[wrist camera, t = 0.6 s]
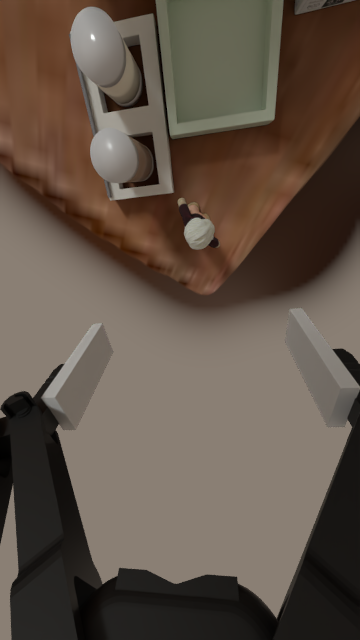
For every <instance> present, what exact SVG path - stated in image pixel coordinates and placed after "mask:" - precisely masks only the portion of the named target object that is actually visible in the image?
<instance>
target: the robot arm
mask: <svg viewBox="0 0 360 640" xmlns="http://www.w3.org/2000/svg"><path fill="white" fill-rule="evenodd" d="M285 343H286V345H287V347H288V349H289V351H290V353H291V355H292V357H293V359H294V361H295V363H296V365H297V367H298V369H299V371H300V373H301V375H302V377H303V379H304V381H305V383H306V385H307V387H308V389H309V391H310V393H311V395H312V397H313V399H314V401H315V403H316V405H317V407H318V409H319V411H320V413H321V415H322V417H323V419H324V421H325V423H326V425H327V427H345V424H346V422H347V420H348V421H349V422H350V424H351V426H352V430H351V432H350V434H349V437H348V439H347V442H346V445H345V447H344V450H343V452H342V455H341V458H340V460H339V463H338V465H337V468H336V470H335V473H334V475H333V478H332V481H331V483H330V486H329V488H328V491H327V493H326V496H325V499H324V501H323V504H322V506H321V508H320V511H319V514H318V516H317V519H316V521H315V524H314V526H313V529H312V531H311V534H310V537H309V539H308V542H307V544H306V547H305V549H304V552H303V554H302V557H301V560H300V562H299V564H298V567H297V570H296V572H295V575H294V577H293V579H292V582H291V584H290V587H289V589H288V591H287V594H286V596H285V599H284V602H283V604H282V607H281V609H280V612H279V614H278V617H277V619H276V617H275V616H274V614H273V613H272V612H271V610H270V609H269V608H268V607H267V606H266V604H265V603H264V602H263V601H262V600H261V599H260V598H259V597H258V596H257V595H255V594H254V593H253V592H251V591H250V590H249V589H247V588H246V587H244V586H242V585H240V584H238V582H237V577H231V576H218V575H217V576H216V575H204V576H201V577H198V578H194V579H191V580H188V581H185V582H182V583H179V584H173V583H171V582H169V581H167V580H165V579H163V578H161V577H159V576H157V575H155V574H153V573H151V572H149V571H147V570H139V569H126V568H119V572H118V576H116V577H115V578H112V579H110V580H108V581H107V582H105V583H104V584H102V581H101V578H100V576H99V573H98V571H97V569H96V568H95V565H94V564H93V561H92V558H91V555H90V551H89V547H88V543H87V539H86V536H85V532H84V529H83V525H82V521H81V518H80V514H79V510H78V506H77V502H76V499H75V495H74V492H73V488H72V484H71V480H70V477H69V473H68V469H67V466H66V462H65V458H64V455H63V451H62V447H61V444H60V440H59V437H58V433H57V431H56V428H57V426H58V424H59V425H60V426H61V427H62V429H63V430H76V428H77V426H78V424H79V422H80V420H81V418H82V416H83V414H84V412H85V410H86V407H87V405H88V403H89V401H90V399H91V397H92V395H93V393H94V391H95V389H96V387H97V385H98V382H99V380H100V378H101V376H102V374H103V372H104V370H105V368H106V366H107V364H108V362H109V360H110V358H111V356H112V354H113V350H112V347H111V345H110V342H109V339H108V337H107V334H106V331H105V329H104V326H103V324H93V325H92V326H91V327H90V329H89V330H88V332H87V333H86V335H85V336H84V338H83V339H82V340H81V342H80V343H79V344H78V346H77V347H76V349H75V350H74V352H73V353H72V355H71V356H70V357H69V359H68V360H67V362H66V363H65V364H61V365H59V366H58V367H57V368H56V369H55V370H53V372H52V373H51V375H50V376H49V378H48V379H47V380H46V381H45V383H44V384H43V385H42V387H41V388H40V389H39V391H38V392H37V394H36V395H35V396H34V398H32V397H31V395H30V394H29V393H28V392H25V391H24V392H19V393H16V394H14V395H12V396H10V397H9V398H8V399H7V400H5V401H4V403H3V404H2V405H1V409H0V410H2V412H3V413H4V414H5V415H6V417H3V418H0V543H1V538H2V533H3V528H4V524H5V519H6V514H7V509H8V505H9V499H10V495H11V490H12V485H13V486H14V503H15V519H16V535H17V548H18V549H17V551H18V567H19V573H18V577H17V578H16V579H15V581H14V582H13V583H12V587H11V593H10V594H11V595H10V607H11V635H12V640H360V364H359V363H358V361H357V360H356V359H355V358H354V357H353V355H352V354H350V353H349V352H347V351H346V350H344V349H332V348H331V347H330V346H329V344H328V343H327V342H326V340H325V339H324V338H323V336H322V335H321V334H320V332H319V331H318V330H317V328H316V327H315V325H314V324H313V323H312V321H311V320H310V319H309V318H308V316H307V315H306V313H305V312H304V311H303V309H302V308H296V309H289V316H288V324H287V331H286V338H285Z"/></svg>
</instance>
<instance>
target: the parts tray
mask: <svg viewBox="0 0 360 640" xmlns="http://www.w3.org/2000/svg"><path fill="white" fill-rule="evenodd" d="M283 2H284V0H156V9H157V18H158V28H159V37H160V47H161V56H162V66H163V75H164V85H165V94H166V104H167V113H168V122H169V132H170V137H171V138H172V139H178V138H185V137H191V136H198V135H204V134H211V133H217V132H224V131H230V130H237V129H243V128H250V127H256V126H263V125H268V124H269V123H271V122H272V121H273V120H274V118H275V105H276V93H277V80H278V67H279V54H280V41H281V28H282V15H283Z"/></svg>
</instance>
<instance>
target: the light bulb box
mask: <svg viewBox="0 0 360 640" xmlns="http://www.w3.org/2000/svg"><path fill="white" fill-rule="evenodd" d="M351 1H355V0H295V10H294V13H295V15H297V14H301V13H305V12H309V11H314V10H318V9H322V8H326V7H330V6H334V5H338V4H342V3H346V2H351Z"/></svg>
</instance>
